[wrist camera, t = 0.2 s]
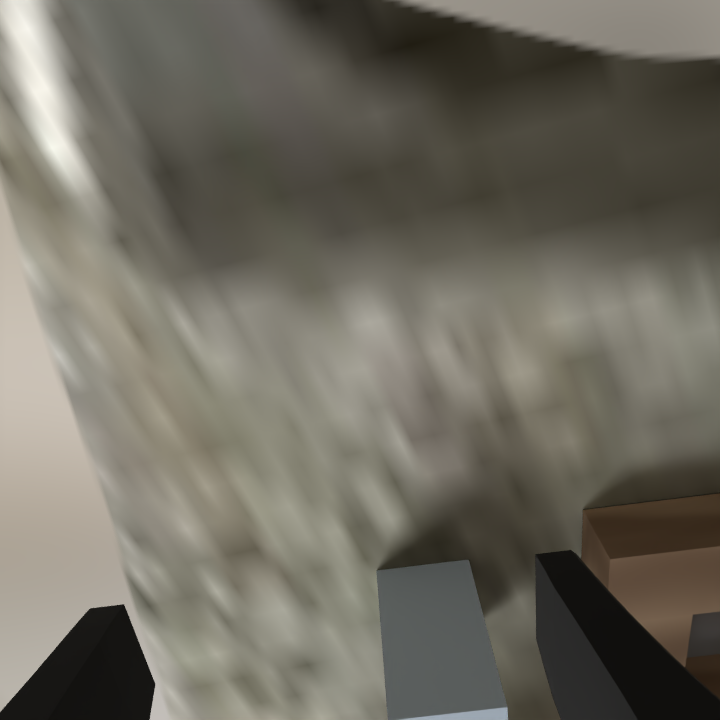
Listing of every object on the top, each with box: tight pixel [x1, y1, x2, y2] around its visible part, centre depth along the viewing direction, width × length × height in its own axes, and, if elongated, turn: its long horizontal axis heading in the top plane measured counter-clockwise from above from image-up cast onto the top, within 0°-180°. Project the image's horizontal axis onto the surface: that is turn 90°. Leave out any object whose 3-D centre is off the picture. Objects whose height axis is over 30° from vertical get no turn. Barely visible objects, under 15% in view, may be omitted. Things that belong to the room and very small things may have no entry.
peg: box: [377, 560, 508, 720], centre depth 22 cm, size 4×4×6 cm
